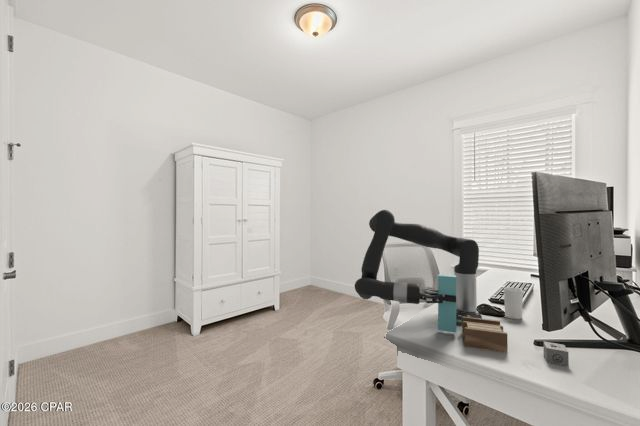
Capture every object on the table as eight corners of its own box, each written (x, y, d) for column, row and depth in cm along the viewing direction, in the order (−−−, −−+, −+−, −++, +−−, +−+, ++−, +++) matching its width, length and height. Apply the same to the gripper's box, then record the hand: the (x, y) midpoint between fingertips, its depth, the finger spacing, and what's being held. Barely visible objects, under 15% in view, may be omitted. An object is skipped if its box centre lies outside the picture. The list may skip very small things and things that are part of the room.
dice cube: (543, 357, 89) (543, 341, 89) (564, 361, 87) (564, 344, 87) (546, 364, 85) (546, 347, 85) (568, 369, 82) (568, 351, 82)
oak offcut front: (467, 342, 98) (467, 325, 98) (501, 347, 94) (501, 329, 94) (468, 345, 96) (468, 327, 96) (502, 350, 92) (502, 331, 92)
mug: (526, 320, 120) (525, 291, 120) (508, 319, 121) (508, 290, 121) (514, 312, 130) (514, 285, 130) (498, 311, 131) (498, 285, 131)
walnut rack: (462, 334, 106) (461, 316, 106) (499, 339, 102) (499, 320, 102) (465, 348, 95) (465, 328, 95) (507, 355, 91) (507, 333, 91)
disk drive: (454, 316, 127) (455, 328, 113) (454, 310, 127) (455, 321, 113) (480, 319, 123) (485, 332, 109) (480, 313, 123) (485, 325, 109)
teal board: (438, 327, 108) (438, 274, 108) (455, 329, 105) (455, 275, 106) (438, 330, 105) (438, 275, 105) (456, 332, 103) (456, 277, 103)
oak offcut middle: (466, 339, 100) (466, 322, 100) (500, 344, 96) (499, 326, 96) (467, 342, 98) (467, 324, 98) (501, 347, 94) (501, 328, 94)
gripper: (404, 287, 104) (457, 292, 98) (408, 279, 117) (454, 283, 111) (404, 307, 104) (457, 314, 98) (408, 297, 117) (454, 302, 111)
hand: (455, 297), depth 104 cm, fingers closed on teal board, 3 cm apart
